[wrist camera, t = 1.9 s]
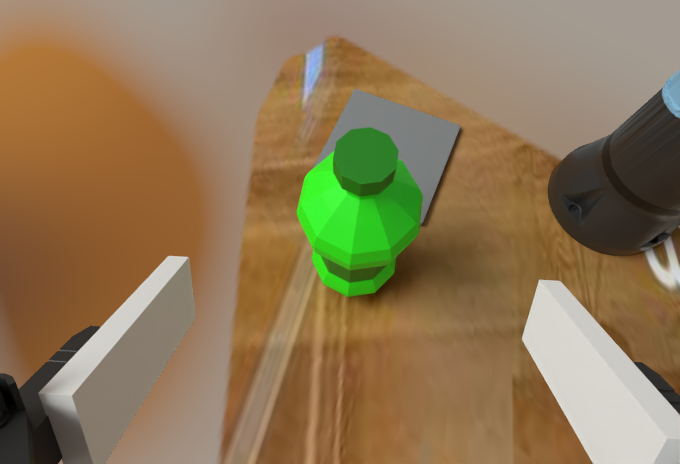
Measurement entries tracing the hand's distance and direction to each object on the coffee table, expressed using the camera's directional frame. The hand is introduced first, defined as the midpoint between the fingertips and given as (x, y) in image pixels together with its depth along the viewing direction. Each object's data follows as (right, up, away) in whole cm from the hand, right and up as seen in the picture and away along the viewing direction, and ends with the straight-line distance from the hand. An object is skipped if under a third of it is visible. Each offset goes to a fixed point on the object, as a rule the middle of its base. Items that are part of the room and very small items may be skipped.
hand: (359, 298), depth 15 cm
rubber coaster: (+6, +13, +39) cm, 42 cm away
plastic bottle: (+1, -1, +34) cm, 34 cm away
